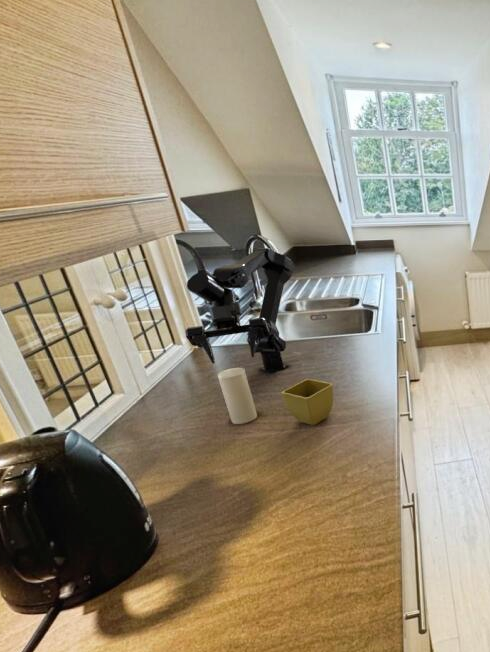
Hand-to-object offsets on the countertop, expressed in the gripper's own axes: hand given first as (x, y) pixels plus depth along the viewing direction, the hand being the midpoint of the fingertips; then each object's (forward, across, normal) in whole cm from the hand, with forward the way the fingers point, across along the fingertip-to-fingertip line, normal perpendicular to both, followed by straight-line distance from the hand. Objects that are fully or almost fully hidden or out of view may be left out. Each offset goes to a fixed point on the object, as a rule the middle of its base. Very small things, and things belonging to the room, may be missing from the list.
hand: (233, 359), depth 119 cm
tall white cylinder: (+15, 0, +4) cm, 16 cm away
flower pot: (+22, +16, -3) cm, 28 cm away
